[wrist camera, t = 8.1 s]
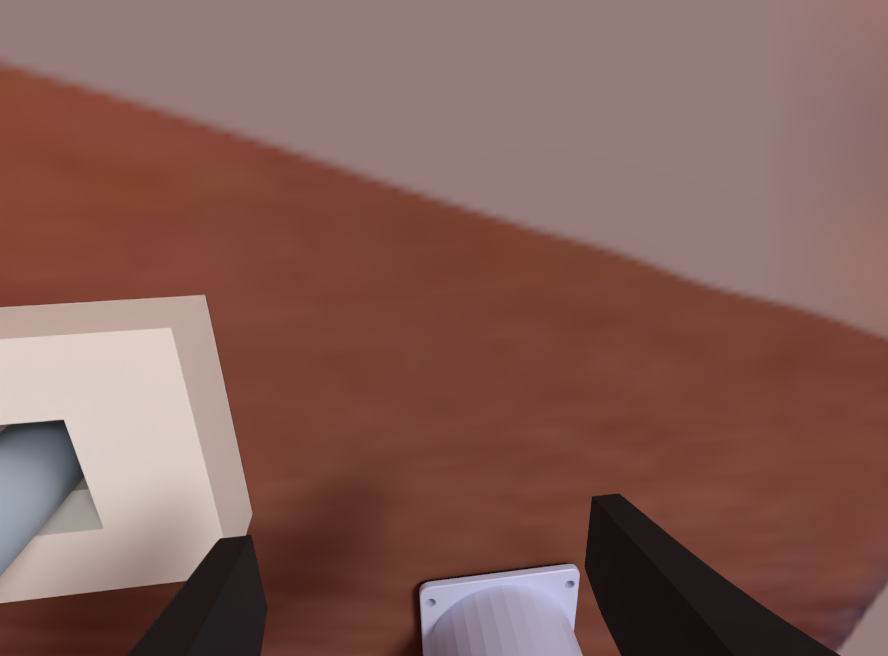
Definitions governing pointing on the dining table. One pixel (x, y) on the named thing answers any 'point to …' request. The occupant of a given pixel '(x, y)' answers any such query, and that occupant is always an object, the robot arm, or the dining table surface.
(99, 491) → the bore block
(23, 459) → the dowel
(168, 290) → the dining table surface
